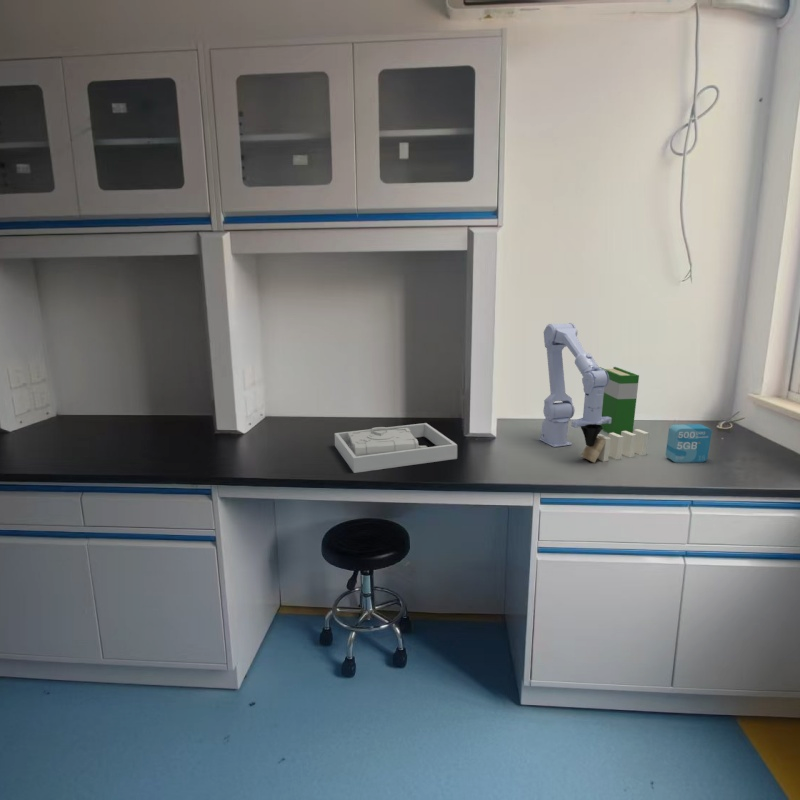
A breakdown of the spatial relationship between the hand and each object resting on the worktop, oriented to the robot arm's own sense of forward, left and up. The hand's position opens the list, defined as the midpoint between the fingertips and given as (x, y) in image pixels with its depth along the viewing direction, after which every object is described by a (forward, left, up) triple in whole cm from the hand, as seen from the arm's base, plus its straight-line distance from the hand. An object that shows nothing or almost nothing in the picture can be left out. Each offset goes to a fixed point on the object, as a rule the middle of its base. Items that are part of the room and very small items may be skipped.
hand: (589, 445), depth 171 cm
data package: (+11, +31, -6) cm, 34 cm away
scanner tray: (-31, -59, -5) cm, 67 cm away
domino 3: (0, +11, -5) cm, 12 cm away
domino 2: (0, +5, -5) cm, 7 cm away
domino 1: (0, 0, -5) cm, 5 cm away
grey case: (-33, -60, -6) cm, 69 cm away
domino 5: (0, +22, -5) cm, 22 cm away
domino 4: (0, +16, -5) cm, 17 cm away
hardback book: (-25, +32, -6) cm, 41 cm away
